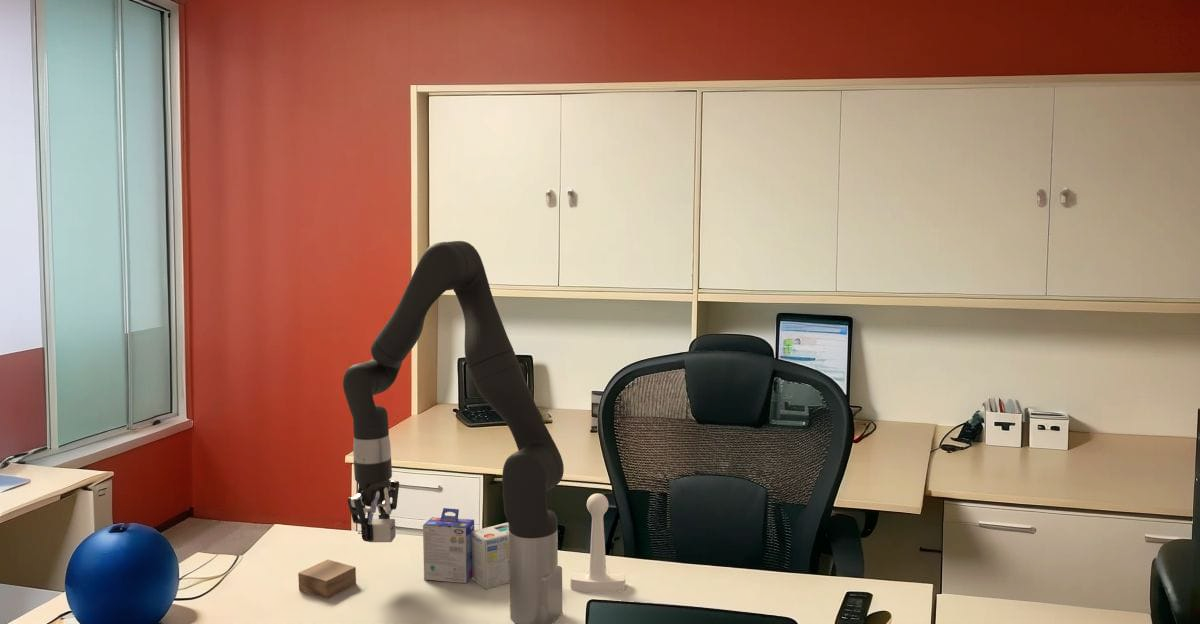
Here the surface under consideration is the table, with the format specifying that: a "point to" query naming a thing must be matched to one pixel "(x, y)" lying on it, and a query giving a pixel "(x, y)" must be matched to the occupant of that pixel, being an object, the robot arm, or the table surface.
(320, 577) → the walnut block
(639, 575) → the table surface
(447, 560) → the ink cartridge box
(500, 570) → the light bulb box
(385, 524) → the usb wall charger
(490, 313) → the robot arm
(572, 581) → the joystick
